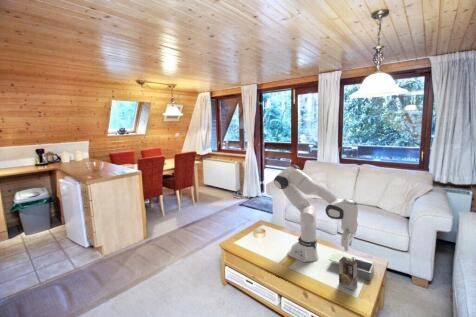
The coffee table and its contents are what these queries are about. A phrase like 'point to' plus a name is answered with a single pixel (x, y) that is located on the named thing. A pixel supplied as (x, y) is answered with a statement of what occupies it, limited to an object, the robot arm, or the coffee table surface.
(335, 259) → the lid
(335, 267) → the coffee table surface
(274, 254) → the coffee table surface
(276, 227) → the coffee table surface
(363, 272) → the bin
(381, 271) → the coffee table surface
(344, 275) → the coffee box
